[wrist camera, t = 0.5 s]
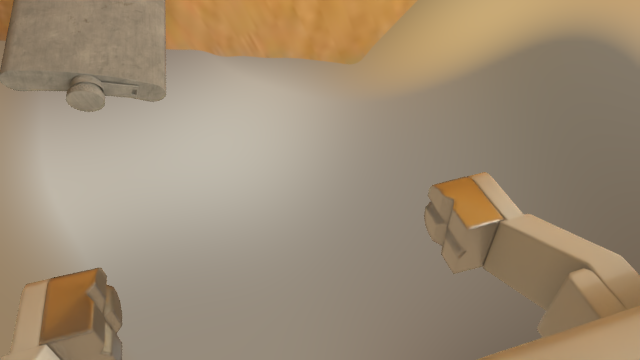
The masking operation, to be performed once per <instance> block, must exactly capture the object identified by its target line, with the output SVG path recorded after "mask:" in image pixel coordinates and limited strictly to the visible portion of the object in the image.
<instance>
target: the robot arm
mask: <svg viewBox="0 0 640 360" xmlns="http://www.w3.org/2000/svg"><path fill="white" fill-rule="evenodd" d="M428 197H429V198H430V200H431V202H430V203H429V204H428V205H427V206H426V208H425V214H424V219H425V225H426V228H427V231H428V233H429V235H430V237H431V238H432V240H433V241H434V242H436V243H438V244H440V245H442V252H441V255H442V256H443V258H444V260H445V261H446V263H447V264H448V266H449V268H450V269H451V271H452V272H453V274H455V273H459V272H463V271H467V270H471V269H475V268H478V267H482V266H483V268H484V269H485V270H487V271H488V272H490V273H491V274H492V275H494V276H495V277H497V278H499V279H500V280H501V281H503V282H504V283H506V284H507V285H509V286H510V287H512V288H514V289H515V290H516V291H518V292H519V293H521V294H522V295H524V296H525V297H527V298H528V299H530V300H531V301H533V302H534V303H536V304H537V305H539V306H540V307H542V308H543V309H544V310H546V312H545V314H544V316H543V317H542V319H541V321H540V322H539V325H538V327H537V330H538V332H539V333H540V334H541V336H542V338H540V339H537V340H534V341H531V342H528V343H525V344H522V345H519V346H516V347H513V348H510V349H507V350H504V351H501V352H498V353H495V354H492V355H489V356H486V357H483V358H480V359H477V360H640V275H639V274H638V273H637V272H636V271H635V270H634V269H633V268H632V267H631V266H630V265H629V264H628V263H627V262H626V261H625V259H623V258H622V256H620V255H618V254H616V253H614V252H611V251H609V250H607V249H605V248H603V247H601V246H598V245H596V244H594V243H592V242H590V241H587V240H585V239H583V238H581V237H579V236H577V235H574V234H572V233H570V232H568V231H566V230H563V229H561V228H559V227H557V226H555V225H552V224H550V223H548V222H546V221H544V220H542V219H539V218H537V217H535V216H533V215H531V214H525V215H523V213H522V212H521V211H520V210H519V209H518V207H517V206H516V205H515V204H514V203H513V201H512V200H511V199H510V198H509V197H508V196H507V194H506V193H505V192H504V191H503V190H502V189H501V188H500V186H499V185H498V184H497V183H496V181H495V180H494V179H493V178H492V177H491V176H490V175H489V174H488V173H486V172H483V173H479V174H475V175H471V176H467V177H462V178H458V179H454V180H450V181H446V182H443V183H439V184H435V185H432V186H431V187H430V189H429V193H428ZM106 279H107V276H106V274H105V273H104V271H103V270H102V268H95V269H91V270H86V271H82V272H77V273H73V274H68V275H63V276H59V277H54V278H51V279H46V280H42V281H38V282H34V283H29V284H26V286H25V287H24V289H23V291H22V293H21V298H20V303H19V309H18V314H17V319H16V324H15V329H14V334H13V340H12V345H11V350H10V354H7V355H4V356H2V357H1V358H0V360H122V342H121V340H120V339H119V337H118V336H117V332H118V331H119V329H120V328H121V326H122V310H121V304H120V300H119V297H118V295H117V292H116V291H115V289H114V287H112V286H109V285H107V284H106V282H107V280H106Z"/></svg>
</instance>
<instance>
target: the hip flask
mask: <svg viewBox="0 0 640 360" xmlns="http://www.w3.org/2000/svg"><path fill="white" fill-rule="evenodd" d="M0 81H1V83H2V84H3V85H5V86H6V87H8V88H10V89H13V90H18V91H67V95H66V101H67V103H68V104H69V105H70V106H71V107H73V108H75V109H77V110H80V111H87V112H91V111H92V112H93V111H97V110H100V109H102V108H103V107H104V105H105V96H116V97H129V98H134V99H140V100H145V101H152V102H154V101H159V100H162V99H163V98H164V97H165V96H166V36H165V0H14V2H13V7H12V13H11V18H10V23H9V28H8V33H7V39H6V44H5V49H4V54H3V59H2V65H1V70H0Z"/></svg>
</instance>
